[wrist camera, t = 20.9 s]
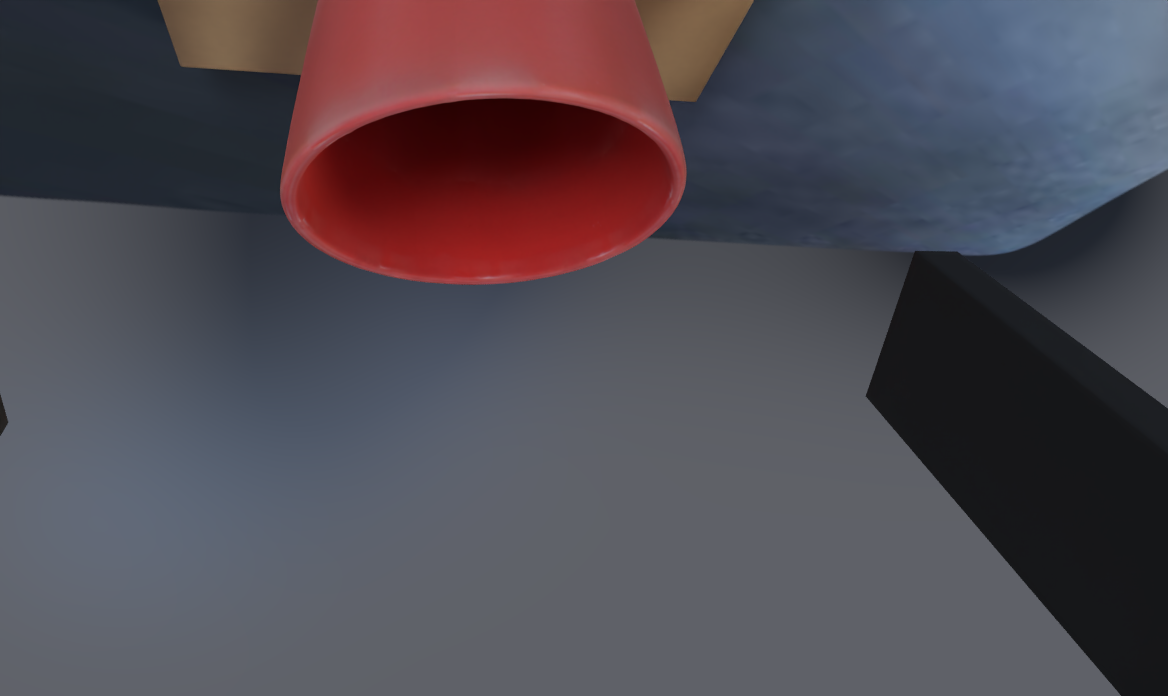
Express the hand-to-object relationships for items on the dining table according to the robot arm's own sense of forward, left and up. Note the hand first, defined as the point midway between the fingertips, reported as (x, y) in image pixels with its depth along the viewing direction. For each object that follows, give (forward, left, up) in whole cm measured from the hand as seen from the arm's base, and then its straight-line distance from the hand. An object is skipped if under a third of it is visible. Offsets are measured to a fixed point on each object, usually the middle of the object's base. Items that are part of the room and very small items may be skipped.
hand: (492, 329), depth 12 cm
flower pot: (+1, -9, -17) cm, 19 cm away
